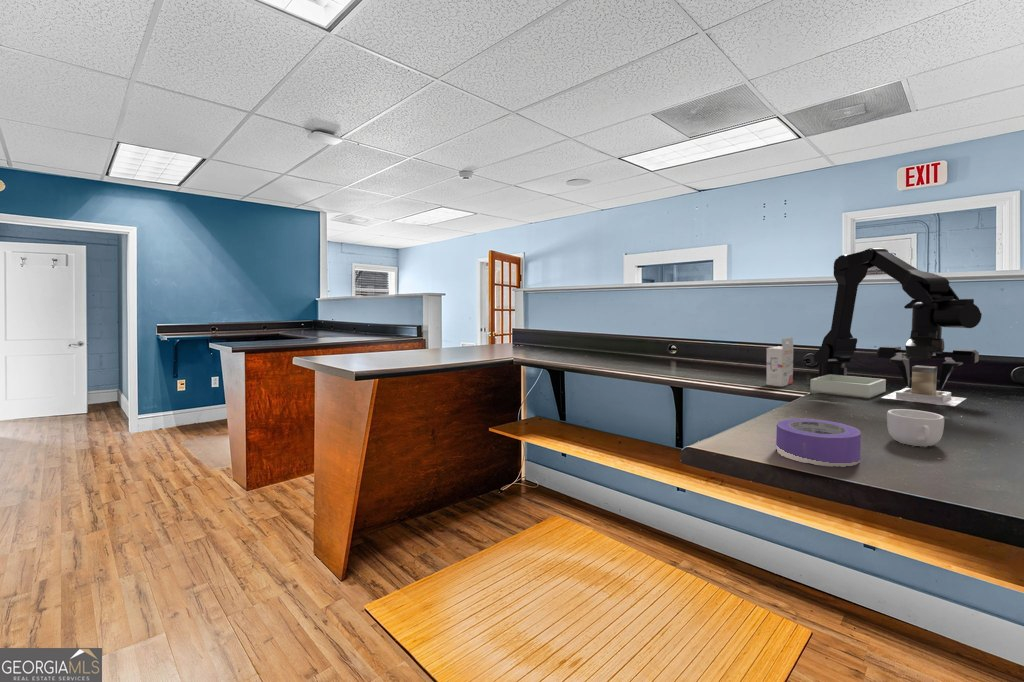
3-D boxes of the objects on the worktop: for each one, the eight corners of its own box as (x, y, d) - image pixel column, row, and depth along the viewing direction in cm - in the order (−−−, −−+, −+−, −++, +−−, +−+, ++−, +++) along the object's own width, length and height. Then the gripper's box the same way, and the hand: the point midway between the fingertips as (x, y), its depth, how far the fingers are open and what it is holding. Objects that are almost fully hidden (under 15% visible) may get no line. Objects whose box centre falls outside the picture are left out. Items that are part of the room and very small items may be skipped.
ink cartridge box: (776, 381, 150) (777, 336, 149) (793, 383, 147) (794, 337, 145) (765, 385, 145) (766, 338, 144) (782, 386, 141) (783, 338, 140)
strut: (910, 397, 119) (912, 366, 118) (915, 395, 121) (916, 365, 121) (932, 400, 116) (933, 368, 115) (935, 398, 118) (937, 366, 117)
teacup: (880, 436, 88) (881, 408, 88) (932, 440, 85) (933, 410, 85) (898, 451, 79) (899, 420, 79) (957, 456, 76) (958, 423, 75)
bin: (810, 393, 130) (810, 379, 130) (828, 387, 138) (828, 374, 138) (869, 400, 119) (869, 385, 119) (885, 393, 128) (885, 379, 127)
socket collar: (880, 399, 120) (881, 391, 120) (896, 393, 128) (896, 385, 128) (954, 408, 109) (955, 399, 108) (966, 400, 117) (967, 392, 117)
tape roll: (843, 474, 69) (844, 441, 69) (763, 454, 79) (763, 425, 78) (871, 457, 76) (872, 427, 76) (794, 442, 86) (795, 415, 85)
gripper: (871, 327, 120) (868, 387, 121) (972, 329, 105) (968, 397, 106) (884, 325, 126) (882, 382, 127) (980, 327, 112) (977, 391, 113)
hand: (923, 387), depth 118 cm, fingers open, 6 cm apart
